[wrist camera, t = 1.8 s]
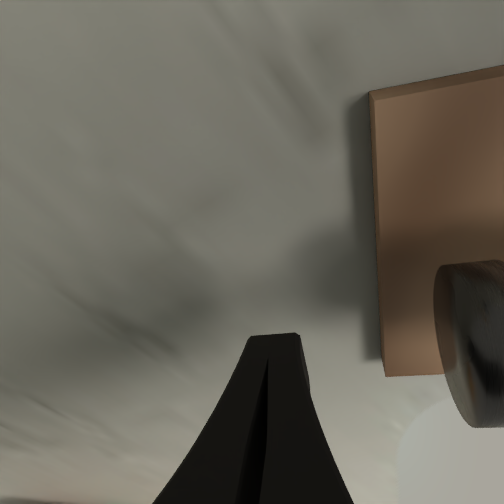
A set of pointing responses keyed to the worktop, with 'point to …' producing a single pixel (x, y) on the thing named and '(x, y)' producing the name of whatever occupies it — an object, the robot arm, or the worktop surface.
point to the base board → (433, 200)
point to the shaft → (472, 338)
